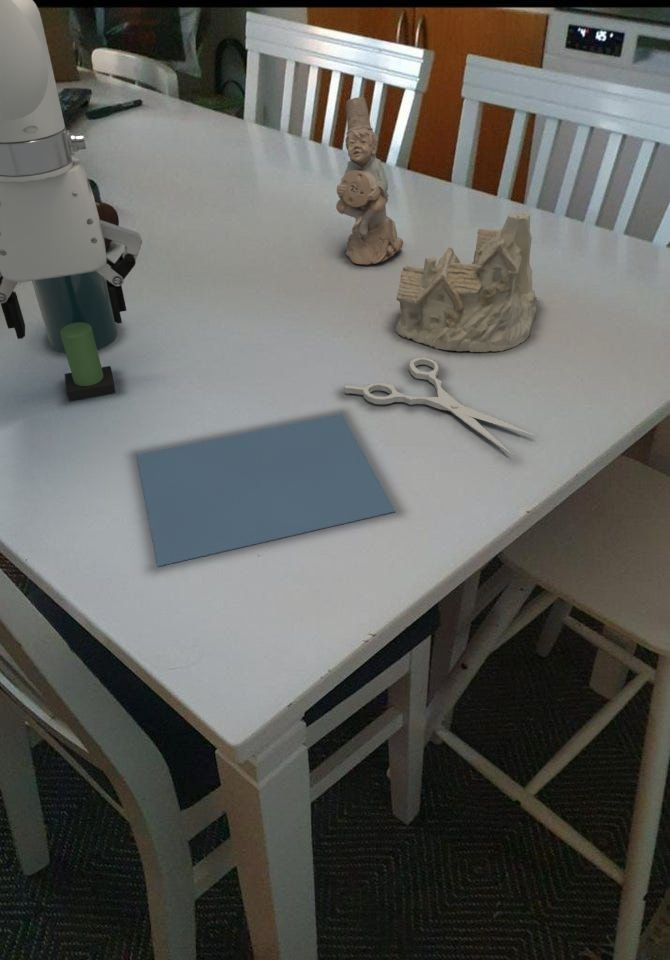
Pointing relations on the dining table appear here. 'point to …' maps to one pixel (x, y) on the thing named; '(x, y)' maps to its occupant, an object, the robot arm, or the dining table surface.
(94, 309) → the teal cylinder
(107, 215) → the compass
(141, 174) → the dining table surface
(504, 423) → the scissors
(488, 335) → the ceramic cottage
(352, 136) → the figurine
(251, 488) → the napkin
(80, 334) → the stamp
